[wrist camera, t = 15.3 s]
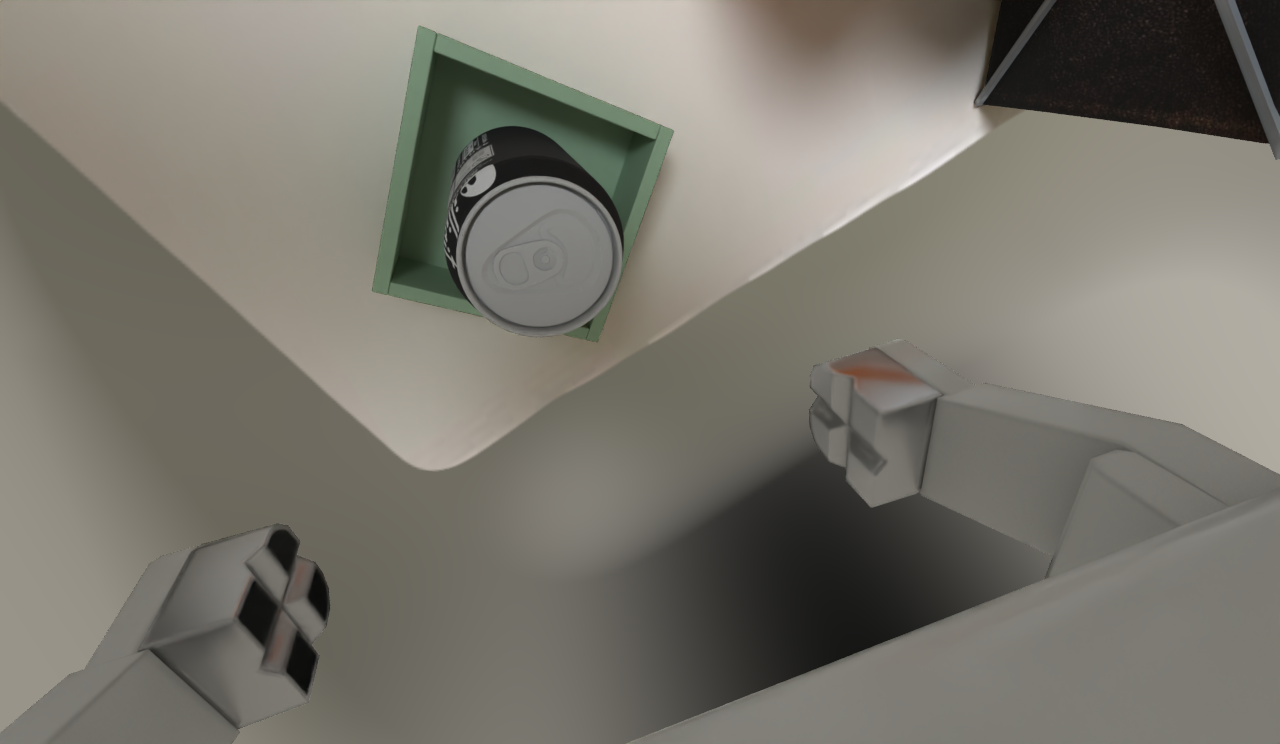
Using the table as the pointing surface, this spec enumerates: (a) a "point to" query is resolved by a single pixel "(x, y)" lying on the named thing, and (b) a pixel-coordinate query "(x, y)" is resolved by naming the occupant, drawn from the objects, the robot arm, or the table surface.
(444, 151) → the bin
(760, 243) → the table surface
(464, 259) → the beverage can
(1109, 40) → the book
